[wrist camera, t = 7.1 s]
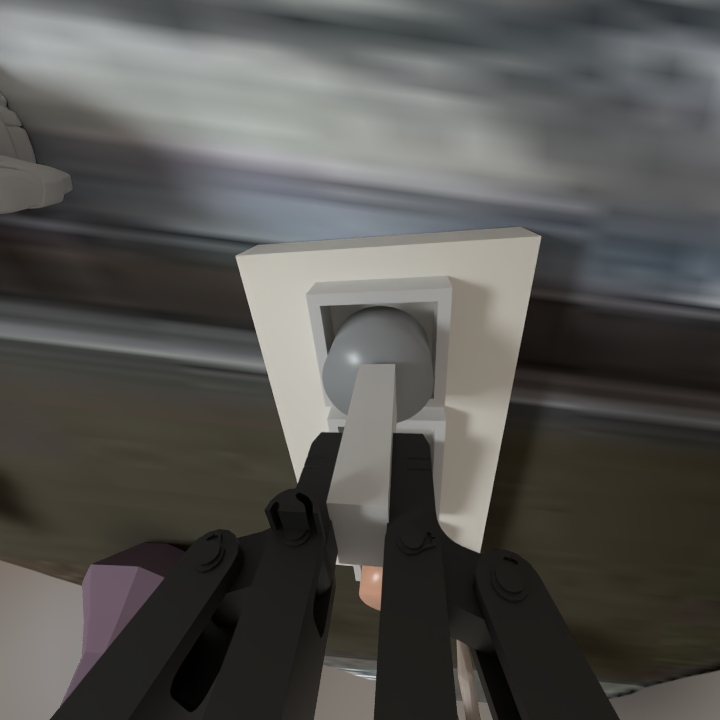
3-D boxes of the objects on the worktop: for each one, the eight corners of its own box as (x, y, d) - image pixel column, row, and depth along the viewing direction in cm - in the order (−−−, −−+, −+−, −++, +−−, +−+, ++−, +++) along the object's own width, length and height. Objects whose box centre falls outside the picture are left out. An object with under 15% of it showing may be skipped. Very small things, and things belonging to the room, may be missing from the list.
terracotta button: (361, 538, 26) (356, 578, 23) (423, 542, 25) (425, 584, 22) (365, 570, 28) (361, 609, 26) (422, 575, 28) (424, 616, 25)
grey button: (328, 307, 16) (314, 333, 13) (430, 304, 15) (435, 330, 12) (340, 389, 18) (329, 424, 16) (427, 389, 18) (432, 426, 15)
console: (257, 244, 19) (216, 265, 15) (520, 226, 17) (560, 244, 13) (325, 533, 34) (314, 585, 30) (469, 543, 32) (479, 600, 28)
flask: (231, 544, 38) (88, 852, 21) (230, 602, 46) (129, 853, 29) (97, 511, 37) (-160, 795, 20) (121, 575, 46) (-46, 813, 29)
